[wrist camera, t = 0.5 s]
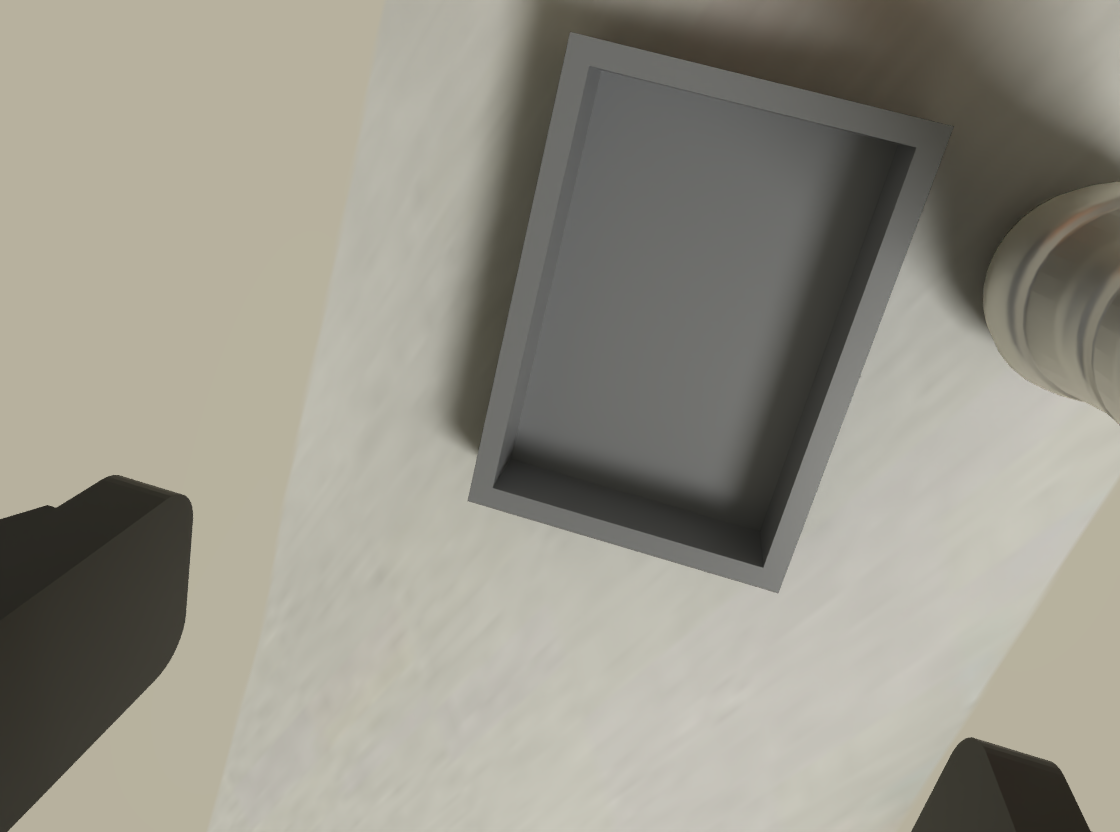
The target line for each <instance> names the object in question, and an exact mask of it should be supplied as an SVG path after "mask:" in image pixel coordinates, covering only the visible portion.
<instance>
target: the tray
mask: <svg viewBox="0 0 1120 832" xmlns="http://www.w3.org/2000/svg"><path fill="white" fill-rule="evenodd" d="M953 128H954V126H950V125H946V124H942V123H938V122H934V121H930V120H926V119H922V118H918V117H914V116H910V115H905V114H901V113H897V112H893V111H889V110H885V109H881V108H877V107H873V106H869V105H865V104H861V103H857V102H853V101H849V100H845V99H841V98H836V97H832V96H828V95H824V94H820V93H816V92H812V91H808V90H804V89H800V88H796V87H792V86H788V85H784V84H780V83H776V82H772V81H767V80H763V79H759V78H755V77H751V76H747V75H743V74H739V73H735V72H731V71H727V70H723V69H719V68H715V67H711V66H707V65H703V64H699V63H694V62H690V61H686V60H682V59H678V58H674V57H670V56H666V55H662V54H658V53H654V52H650V51H646V50H642V49H638V48H634V47H630V46H625V45H621V44H617V43H613V42H609V41H605V40H601V39H597V38H593V37H589V36H585V35H581V34H577V33H573V32H570V35H569V39H568V44H567V48H566V53H565V58H564V62H563V67H562V71H561V76H560V81H559V85H558V90H557V94H556V99H555V103H554V108H553V113H552V117H551V122H550V126H549V131H548V135H547V140H546V145H545V149H544V154H543V158H542V163H541V167H540V172H539V177H538V181H537V186H536V190H535V195H534V199H533V204H532V209H531V213H530V218H529V222H528V227H527V231H526V236H525V241H524V245H523V250H522V254H521V259H520V264H519V268H518V273H517V277H516V282H515V286H514V291H513V296H512V300H511V305H510V309H509V314H508V318H507V323H506V328H505V332H504V337H503V341H502V346H501V350H500V355H499V360H498V364H497V369H496V373H495V378H494V382H493V387H492V392H491V396H490V401H489V405H488V410H487V414H486V419H485V424H484V428H483V433H482V437H481V442H480V446H479V451H478V456H477V460H476V465H475V469H474V474H473V479H472V483H471V488H470V492H469V497H468V501H469V502H473V503H476V504H480V505H483V506H486V507H490V508H493V509H496V510H500V511H503V512H506V513H510V514H513V515H517V516H520V517H523V518H527V519H530V520H533V521H537V522H540V523H543V524H547V525H550V526H554V527H557V528H560V529H564V530H567V531H570V532H574V533H577V534H580V535H584V536H587V537H591V538H594V539H597V540H601V541H604V542H607V543H611V544H614V545H617V546H621V547H624V548H628V549H631V550H634V551H638V552H641V553H644V554H648V555H651V556H654V557H658V558H661V559H665V560H668V561H671V562H675V563H678V564H681V565H685V566H688V567H691V568H695V569H698V570H702V571H705V572H708V573H712V574H715V575H718V576H722V577H725V578H728V579H732V580H735V581H739V582H742V583H745V584H749V585H752V586H755V587H759V588H762V589H765V590H769V591H772V592H776V593H779V590H780V587H781V585H782V582H783V579H784V577H785V574H786V571H787V569H788V566H789V563H790V561H791V558H792V556H793V553H794V550H795V548H796V545H797V542H798V540H799V537H800V534H801V532H802V529H803V526H804V524H805V521H806V518H807V516H808V513H809V510H810V508H811V505H812V502H813V500H814V497H815V494H816V492H817V489H818V486H819V484H820V481H821V478H822V476H823V473H824V470H825V468H826V465H827V463H828V460H829V457H830V455H831V452H832V449H833V447H834V444H835V441H836V439H837V436H838V433H839V431H840V428H841V425H842V423H843V420H844V417H845V415H846V412H847V409H848V407H849V404H850V401H851V399H852V396H853V393H854V391H855V388H856V385H857V383H858V380H859V377H860V375H861V372H862V369H863V367H864V364H865V362H866V359H867V356H868V354H869V351H870V348H871V346H872V343H873V340H874V338H875V335H876V332H877V330H878V327H879V324H880V322H881V319H882V316H883V314H884V311H885V308H886V306H887V303H888V300H889V298H890V295H891V292H892V290H893V287H894V284H895V282H896V279H897V276H898V274H899V271H900V269H901V266H902V263H903V261H904V258H905V255H906V253H907V250H908V247H909V245H910V242H911V239H912V237H913V234H914V231H915V229H916V226H917V223H918V221H919V218H920V215H921V213H922V210H923V207H924V205H925V202H926V199H927V197H928V194H929V191H930V189H931V186H932V183H933V181H934V178H935V176H936V173H937V170H938V168H939V165H940V162H941V160H942V157H943V154H944V152H945V149H946V146H947V144H948V141H949V138H950V136H951V133H952V130H953Z"/></svg>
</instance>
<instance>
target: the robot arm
mask: <svg viewBox="0 0 1120 832" xmlns="http://www.w3.org/2000/svg"><path fill="white" fill-rule="evenodd" d="M192 523H193V510H192V505H191V502H190V500H189V499H188V498H187V497H186V496H185V495H182V494H178V493H175V492H172V491H169V490H165V489H162V488H159V487H156V486H152V485H149V484H145V483H142V482H139V481H135V480H133V479H129V478H126V477H123V476H119V475H112V476H108V477H106V478H104V479H102V480H100V481H99V482H97V483H96V484H94V485H92V486H91V487H89V488H88V489H86V490H84V491H83V492H81V493H80V494H78V495H76V496H75V497H73V498H72V499H70V500H68V501H67V502H65V503H63V504H62V505H60V506H59V507H57V508H54V507H52V506H48V505H47V506H43V507H40V508H37V509H33V510H30V511H27V512H23V513H20V514H16V515H13V516H10V517H7V518H3V519H0V832H7V831H9V829H10V828H11V827H12V826H13V825H14V824H15V823H16V822H17V821H18V820H19V819H20V818H21V817H22V816H23V815H24V814H25V813H26V812H27V811H28V810H29V809H30V808H31V807H32V806H33V805H34V804H35V803H36V802H37V801H38V800H39V799H40V798H41V797H42V796H43V794H44V793H46V792H47V791H48V789H49V788H50V787H51V786H52V785H53V784H54V783H55V782H56V781H57V780H58V779H59V778H60V777H61V776H62V775H63V774H64V773H65V772H66V771H67V770H68V769H69V768H70V767H71V766H72V765H73V764H74V763H75V761H77V760H78V759H79V758H80V757H81V756H82V755H83V753H84V752H86V750H87V749H88V748H89V747H90V746H91V745H92V744H93V743H94V742H95V741H96V740H97V739H98V738H99V737H100V736H101V735H102V734H103V733H104V732H105V731H106V730H107V729H108V728H109V727H110V726H111V725H112V724H113V723H114V722H115V721H116V720H117V719H118V718H119V717H120V716H121V715H122V714H123V713H124V711H125V710H126V709H127V708H128V707H129V706H130V705H131V704H132V703H133V702H134V701H135V700H136V699H137V698H138V697H139V696H140V695H141V694H142V693H143V692H144V691H145V690H146V689H147V688H148V687H149V686H150V685H151V684H152V683H153V682H154V681H155V679H157V677H158V676H159V675H160V674H161V673H162V671H163V670H164V669H165V667H166V666H167V664H168V663H169V661H170V659H171V658H172V656H173V654H174V652H175V650H176V648H177V645H178V643H179V640H180V638H181V635H182V631H183V628H184V623H185V617H186V605H187V592H188V578H189V564H190V551H191V537H192ZM912 832H1091V831H1090V829H1089V827H1088V825H1087V823H1086V821H1085V819H1084V817H1083V815H1082V812H1081V810H1080V808H1079V806H1078V804H1077V802H1076V800H1075V798H1074V796H1073V794H1072V792H1071V790H1070V787H1069V785H1068V783H1067V782H1066V779H1065V777H1064V775H1063V774H1062V772H1061V770H1060V769H1059V768H1058V767H1057V765H1056V764H1054V763H1053V762H1051V761H1048V760H1044V759H1040V758H1038V757H1034V756H1031V755H1028V754H1024V753H1021V752H1018V751H1015V750H1011V749H1008V748H1005V747H1002V746H998V745H995V744H992V743H989V742H985V741H982V740H978V739H975V738H972V737H971V738H966V739H965V740H963V741H961V742H960V743H959V744H958V745H957V747H956V748H955V749H954V751H953V753H952V754H951V756H950V758H949V760H948V762H947V764H946V766H945V768H944V770H943V771H942V773H941V775H940V777H939V779H938V781H937V783H936V785H935V787H934V789H933V791H932V793H931V795H930V797H929V799H928V801H927V802H926V804H925V807H924V808H923V810H922V812H921V814H920V816H919V818H918V820H917V822H916V824H915V826H914V828H913V829H912Z"/></svg>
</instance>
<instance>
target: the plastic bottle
mask: <svg viewBox="0 0 1120 832" xmlns="http://www.w3.org/2000/svg"><path fill="white" fill-rule="evenodd" d="M983 309H984V314H985V319H986V324H987V326H988V328H989V331H990V333H991V336H992V338H993V340H994V342H995V345H996V347H997V349H998V351H999V353H1000V354H1001V356H1002V357H1003V358H1004V359H1005V361H1006V362H1007V363H1008V365H1009V366H1010V367H1011V368H1012V369H1013V370H1014V371H1016V372H1017V373H1018V374H1019V375H1020V376H1022V377H1023V378H1024V379H1025V380H1027V381H1029V382H1031V383H1033V384H1035V385H1037V386H1039V387H1041V388H1043V389H1045V390H1048V391H1050V392H1052V393H1055V394H1057V395H1060V396H1063V397H1067V398H1071V399H1074V400H1078V401H1082V402H1086V403H1088V404H1090V405H1092V406H1094V407H1095V408H1097V409H1099V410H1101V411H1103V412H1105V413H1107V414H1108V415H1109V416H1110V417H1111V418H1113V419H1114V420H1115V421H1116V422H1117V423H1118V424H1119V425H1120V182H1111V183H1104V184H1097V185H1092V186H1088V187H1084V188H1080V189H1077V190H1074V191H1071V192H1068V193H1065V194H1062V195H1059V196H1056V197H1054V198H1053V199H1051V200H1049V201H1047V202H1045V203H1043V204H1041V205H1039V206H1038V207H1036V208H1035V209H1034V210H1032V211H1031V212H1030V213H1028V214H1027V215H1026V216H1024V217H1023V218H1022V219H1021V220H1020V221H1019V222H1018V223H1017V224H1016V225H1015V226H1014V227H1013V228H1012V229H1011V230H1010V231H1009V232H1008V234H1007V235H1006V236H1005V238H1004V239H1003V241H1002V242H1001V244H1000V245H999V247H998V248H997V250H996V251H995V253H994V256H993V258H992V260H991V263H990V265H989V267H988V270H987V274H986V278H985V283H984V287H983Z"/></svg>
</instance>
